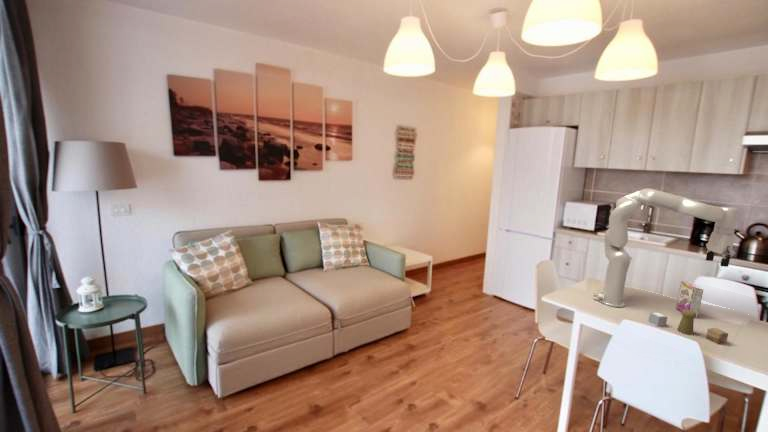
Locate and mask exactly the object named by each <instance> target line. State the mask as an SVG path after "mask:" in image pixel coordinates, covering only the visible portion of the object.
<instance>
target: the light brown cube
mask: <svg viewBox="0 0 768 432" xmlns="http://www.w3.org/2000/svg"><path fill="white" fill-rule="evenodd" d="M728 337H729V333H728V332H726V331H724V330H722V329H719V328H717V327H713V328H707V330H706V335H705V340H707V341H711V342H712V343H714V344H716V345H724V344H727V341H728Z"/></svg>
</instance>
